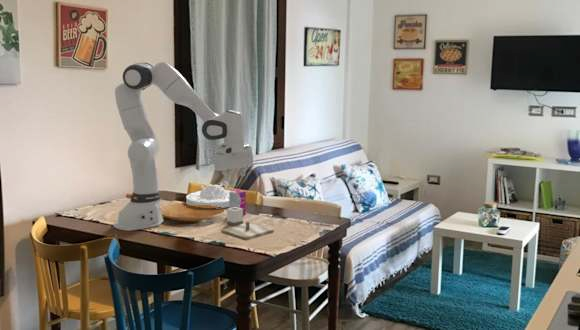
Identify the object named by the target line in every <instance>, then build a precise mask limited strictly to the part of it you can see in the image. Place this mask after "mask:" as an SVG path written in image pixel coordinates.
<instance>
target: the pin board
mask: <svg viewBox="0 0 580 330" xmlns="http://www.w3.org/2000/svg"><path fill="white" fill-rule="evenodd" d="M274 231H275V229H274V228H271V227H268V226H264V225H259V224H257V223H254V222H249V221H246V222H245V223H244V222H243V224H240V225H236V226H233V225H232V226H229V227H226V228H222V229H221V232H222V233H223V234H227V235H230V236H234V237H237V238H241V239H243V240H250V239H253V238H257V237H260V236H263V235H266V234H267V235H268V234H270V233H272V232H274Z"/></svg>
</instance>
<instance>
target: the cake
mask: <svg viewBox="0 0 580 330" xmlns="http://www.w3.org/2000/svg"><path fill="white" fill-rule="evenodd" d="M199 185H200V187H201V189H202V190H198V191H195V192H191V193H188V194H187V195H186V197H185V198H186V199H185V201H186V202H185V203H186V204H187V203H188V204H194V205H211V206H217V207H221V208H220V209H224V208H226V209H227V208H229V192H230V191H231V190H229V189H225V188H224V187H223V182H221V183H220V184H212V183H211V184H209V185H208V184H206V185H205V187H204V185H203V184H202V183H200V184H199Z"/></svg>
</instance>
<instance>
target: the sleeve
mask: <svg viewBox="0 0 580 330" xmlns="http://www.w3.org/2000/svg"><path fill="white" fill-rule="evenodd" d="M226 219H227V221H226V224H227V225H230V226H232V227H233V226H236V225H240V224H244V215H243V209H241V208H238V207H233V208H229V207H228V208H226Z"/></svg>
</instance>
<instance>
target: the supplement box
mask: <svg viewBox="0 0 580 330" xmlns="http://www.w3.org/2000/svg"><path fill="white" fill-rule="evenodd" d="M229 191H230V192H229V207H228V209H229V208H233V207H238V208H241V209H243V216H244V215H245V216H246V213H247V212H246V209H247V207H246V206H247V205H246V203H247V200H246V199H247V196H246V195H247V191H245V190H240V189H235V190H229Z"/></svg>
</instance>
